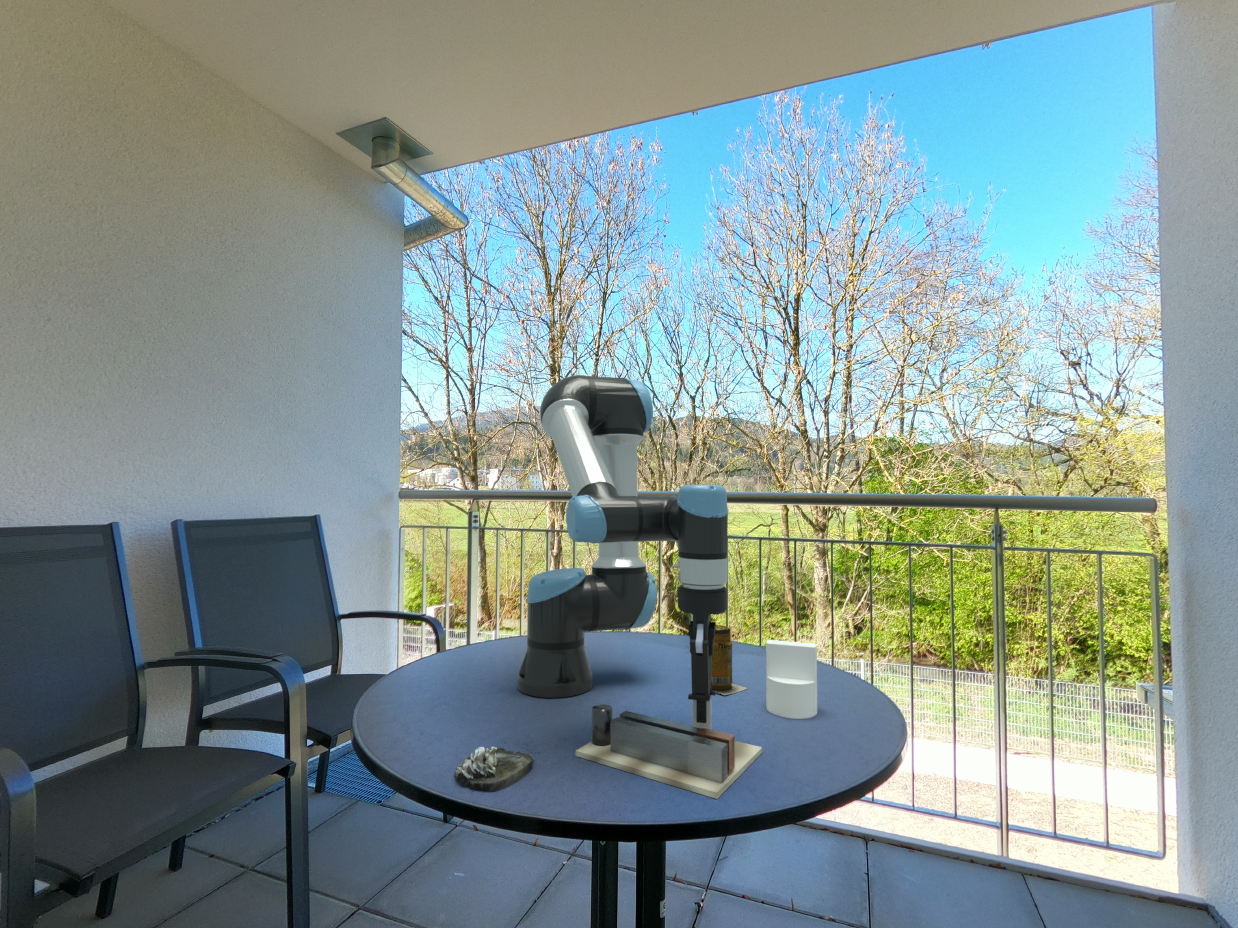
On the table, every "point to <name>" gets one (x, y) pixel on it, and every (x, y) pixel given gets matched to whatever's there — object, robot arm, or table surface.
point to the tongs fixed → (660, 745)
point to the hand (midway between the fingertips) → (702, 740)
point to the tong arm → (688, 733)
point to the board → (603, 755)
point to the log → (492, 769)
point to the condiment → (723, 663)
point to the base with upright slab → (791, 679)
